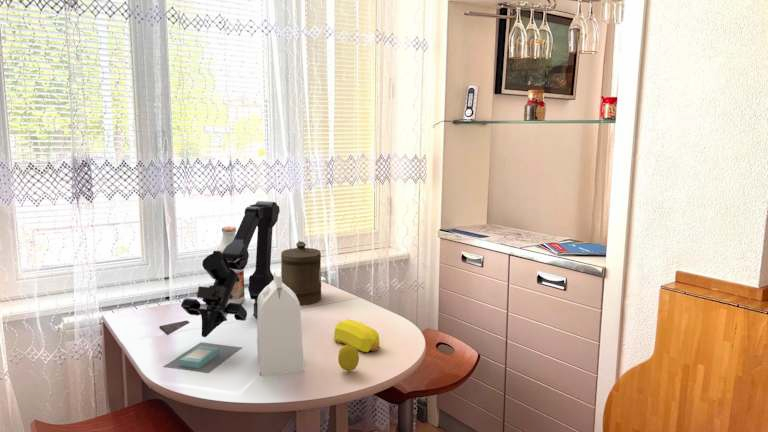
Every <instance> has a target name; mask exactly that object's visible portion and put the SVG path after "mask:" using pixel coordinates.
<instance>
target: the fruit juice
mask: <svg viewBox="0 0 768 432" xmlns="http://www.w3.org/2000/svg"><path fill="white" fill-rule="evenodd" d="M221 232H222V239H221V242H220V244H219V245H218V246H217V249H216V251H220V252H221V253H222V252H223V251H224V249H225V247H226V246H227V245H229V244H230V243H232V242H233V240H234V238H235V236H236V233H237V229H236V227H235V226H224V227H222V228H221ZM232 270H233V271H235V273H238V277H239V280H240V281H239V282H235V285H234V287H233V290H232V292H231V295H232V296H233V297H232V299H229V300H228V303H227V304H229V303H237V304H241V305H242V304H243V303H244V302H245V299H246V297H245V294H246V293H245V292H246V291H245V268H244V269H242V270H236V269H232Z"/></svg>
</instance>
